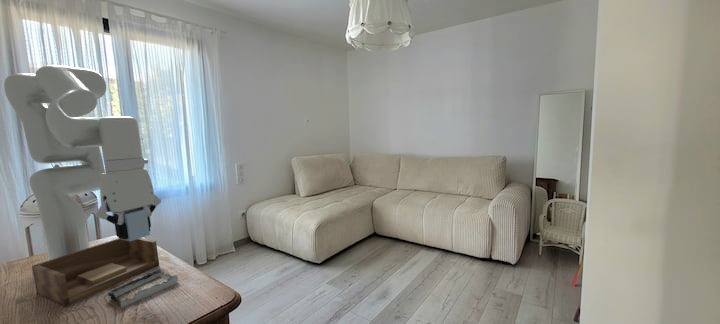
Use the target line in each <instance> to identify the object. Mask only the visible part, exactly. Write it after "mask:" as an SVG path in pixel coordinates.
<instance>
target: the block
mask: <svg viewBox="0 0 720 324" xmlns="http://www.w3.org/2000/svg"><path fill="white" fill-rule="evenodd" d="M124 223H125V224H126V226H127V233H128V239H125V240H126V241H133V240H136V239H139V238H145V237H148V236H151V235H150V234H151V233H150V232H151V231H150V232H149V225H148V218H147V211H146V209H140V208H137V209H133V210H129V211H125V214H124ZM122 240H124V239H122Z"/></svg>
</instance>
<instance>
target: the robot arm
mask: <svg viewBox="0 0 720 324" xmlns="http://www.w3.org/2000/svg"><path fill="white" fill-rule="evenodd" d="M3 87H4V92H5V96H6V98H7V101H8V102H9V104H10V106H11V107H12V108H13V110H14V111H15V113H16V114H17V116H18V117H19V119H20V121H21V123H22V127H23V131H24V134H25V140H26V143H27V148H28V151H29V154H30V157H31V158H32V160H33V161H34V163H35V162H36V163H38V164H42V165H43V164H44V165H47V164H48V165H49V164H59V163H60V164H61V163H71V162H80V163H81V164H77V165H67V166H66V165H65V166H57V167H49V168H43V169H40V170H37V171H36V172H34V173H32V174H31V175H30V177H29V185H30V186H29V187H30V188H31V190H32V193H33V195H34V198H35V200H36V202H37V206H38V210H39V214H40V215H39V216H40V221H41V224H42V230H43V234H44V235H43V236H44V243H45V246H46V252H47V258H48V261H49V260H52V259H55V258H58V257H61V256H64V255H68V254H71V253H74V252H77V251H80V250H83V249H87V248H90V243H89V237H88V230H87V225H86V218H85V217H86V216H85V211H84V208H83V206H82V204H81V203H80V202H78V201H76V200H75V199H73V198H72V196H76V195H79V194H85V193H90V192H96V191H100V207H99V208H98V210H97V211H96V213H95V215H94V216H95V217H96V218H98V219H102V220H105V221H107V222H108V223H112V224H114V227H115V228H114V229H115V235H116V237H118V238H120V239H124V240H125V239H128V233H127V226H126V224H125V223H124V214H125V211H129V210H133V209H137V208H140V209H146V211H147V218H148V225H149V232H151V227H152V223H151V216H152V214H153V212H154V210H156V208H157V207H158V206H159V204H161V203H162V200H161V199H160V198H159V197H158V196H157V195H156V194H155V191H154V187H153V183H152V179H151V177H150V174H149V171H148V169H147V168H145V165H146V164H147V165H148V163H149V160H148V159H147V158H144V157H143V153H142V145H141V138H140V132H139V131H140V129H139V123H138V121H137V120H136V118H134V117H132V116H125V115H124V116H121V115H120V116H117V115H116V116H103V117H99V116H97V117H96V116H86V115H88V114H90V113H92V112H93V111H94V110H95V109H96V108H97V105H98V100H99V99H101V98H102V97H104V96H105V94H106V92H107V82H106V81H105V78H104V76H102V75H101V73H99V72H98V71H96V70H93V69H89V68H82V67H73V66H67V65H61V64H60V65H57V64H51V65H43V66H42V67H39V68H38V69H37V70H36V71H35V73H16V74H10V75H8V76H6V78H5V79H4V83H3ZM45 104H48V105H45ZM100 147H101V149H100ZM101 150H102V151H101ZM107 213H112V215H111V214H107Z"/></svg>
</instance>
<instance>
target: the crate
mask: <svg viewBox="0 0 720 324" xmlns="http://www.w3.org/2000/svg"><path fill="white" fill-rule="evenodd" d="M157 244H158V243H157V241H156V240H153V239H147V238H144V237H142V238H139V239H136V240H133V241H126V240H122V239H120V238H119V237H118V238H115V239H112V240H109V241H106V242H103V243H100V244H96V245H94V246H89V248H87V249H83V250H80V251H77V252H74V253H71V254H68V255H64V256H61V257H58V258H55V259H52V260H49V259H48V260H45V261H44V262H43V261H42V262H39V263H36V264H33V265H31V268H32V269H31V270H32V275H33V280H34V286H35V290H36V291H35V292H36V294H37V295H38V296H40V297H42V298H44V299H46V300H49V301H50V302H53V303H55V304H57V305H59V306H61V307H63V308H65V307H68V306H71V305H73V304H76V303H77V302H80V301H82V300H84V299H85V300H86V298H87V299H88V298H89V297H91V296H93V295H96V294H98V293H100V292H102V291H105V290H107V289H109V288H111V287H114V286H115V285H116V286H117V285H118V284H121V283H123V282H125V281H127V280H130V279H132V278H134V277H137V276H138V275H141V274H144V273H145V272H147V271H150V270H152V269H155V268H156V267H160V261H159V259H160V258H159V253H158V246H157Z"/></svg>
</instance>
